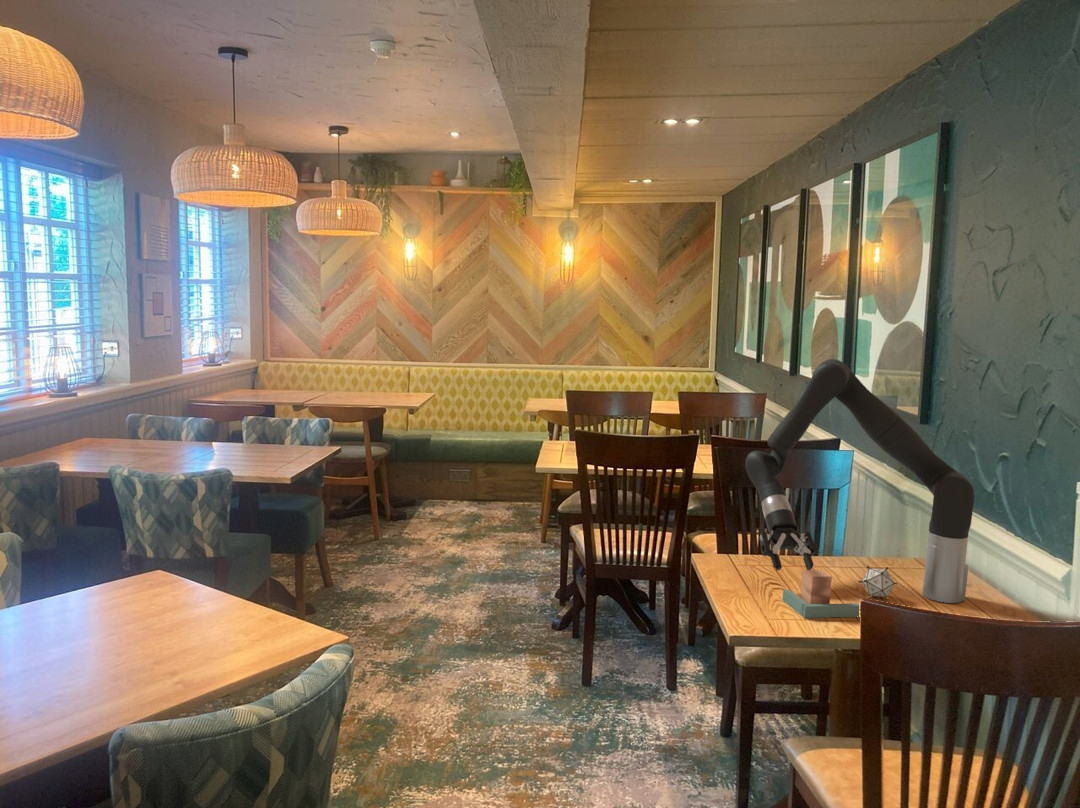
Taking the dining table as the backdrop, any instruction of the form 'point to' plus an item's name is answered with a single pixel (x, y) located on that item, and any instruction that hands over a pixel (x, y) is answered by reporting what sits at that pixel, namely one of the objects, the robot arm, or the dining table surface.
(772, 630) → the dining table surface
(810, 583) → the terracotta block
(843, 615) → the wall
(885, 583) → the game die
